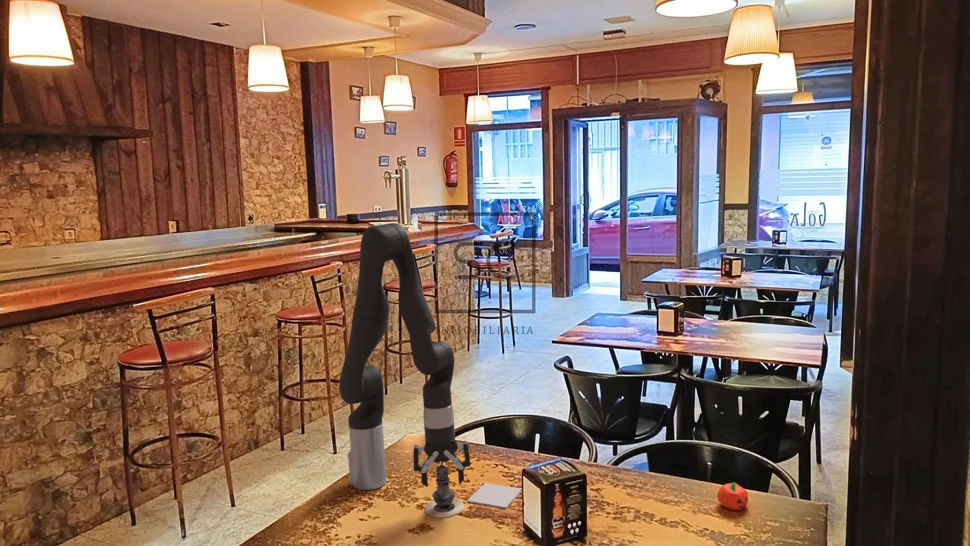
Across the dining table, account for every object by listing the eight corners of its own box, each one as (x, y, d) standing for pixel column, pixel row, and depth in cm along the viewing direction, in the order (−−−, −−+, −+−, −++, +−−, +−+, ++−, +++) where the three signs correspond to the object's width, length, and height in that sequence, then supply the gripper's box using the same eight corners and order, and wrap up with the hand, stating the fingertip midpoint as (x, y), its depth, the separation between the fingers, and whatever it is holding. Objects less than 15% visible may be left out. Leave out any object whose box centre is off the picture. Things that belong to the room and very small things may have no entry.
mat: (467, 501, 175) (467, 500, 175) (485, 484, 184) (485, 482, 184) (506, 508, 170) (506, 507, 170) (522, 490, 180) (522, 488, 180)
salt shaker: (452, 513, 168) (450, 467, 167) (430, 512, 170) (427, 466, 168) (458, 502, 174) (455, 458, 173) (436, 501, 175) (433, 457, 174)
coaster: (417, 513, 170) (417, 513, 169) (436, 496, 178) (436, 495, 178) (452, 520, 165) (452, 519, 165) (470, 502, 174) (470, 501, 174)
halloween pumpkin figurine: (748, 503, 168) (752, 479, 166) (744, 518, 161) (748, 493, 159) (718, 495, 171) (722, 471, 170) (713, 508, 164) (716, 484, 163)
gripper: (410, 429, 165) (414, 493, 166) (468, 424, 166) (472, 487, 167) (411, 419, 172) (415, 480, 174) (466, 415, 173) (470, 475, 175)
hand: (443, 484), depth 171 cm, fingers open, 8 cm apart
